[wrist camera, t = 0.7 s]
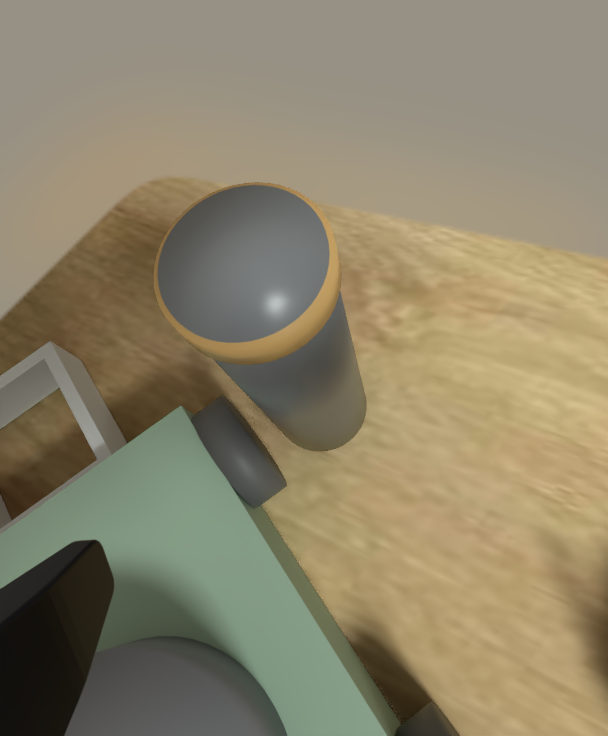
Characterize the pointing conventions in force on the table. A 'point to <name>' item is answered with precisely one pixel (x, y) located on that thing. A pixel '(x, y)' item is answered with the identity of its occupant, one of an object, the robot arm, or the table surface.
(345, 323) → the grey banded cylinder
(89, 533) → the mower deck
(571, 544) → the table surface
